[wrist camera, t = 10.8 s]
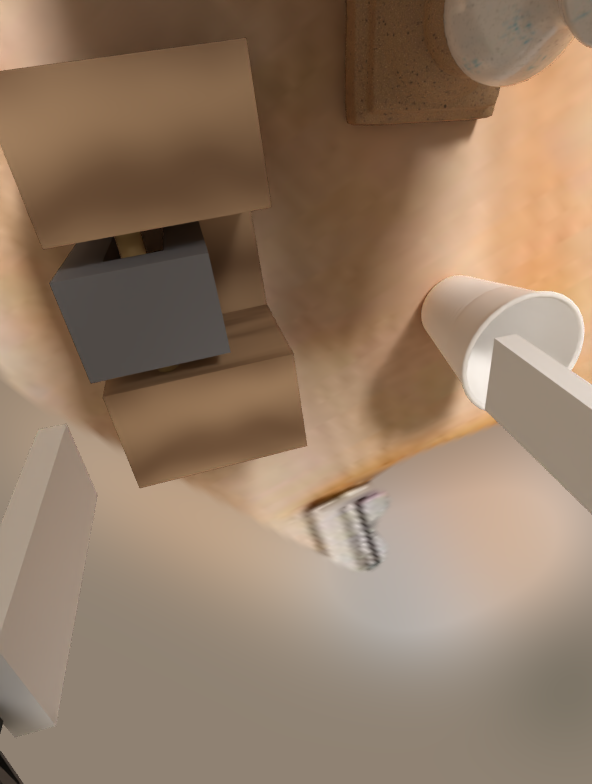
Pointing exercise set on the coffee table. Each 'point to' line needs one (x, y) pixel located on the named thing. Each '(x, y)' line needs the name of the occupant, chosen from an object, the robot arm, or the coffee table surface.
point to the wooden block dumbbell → (161, 209)
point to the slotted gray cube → (141, 304)
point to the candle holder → (450, 54)
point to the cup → (497, 326)
